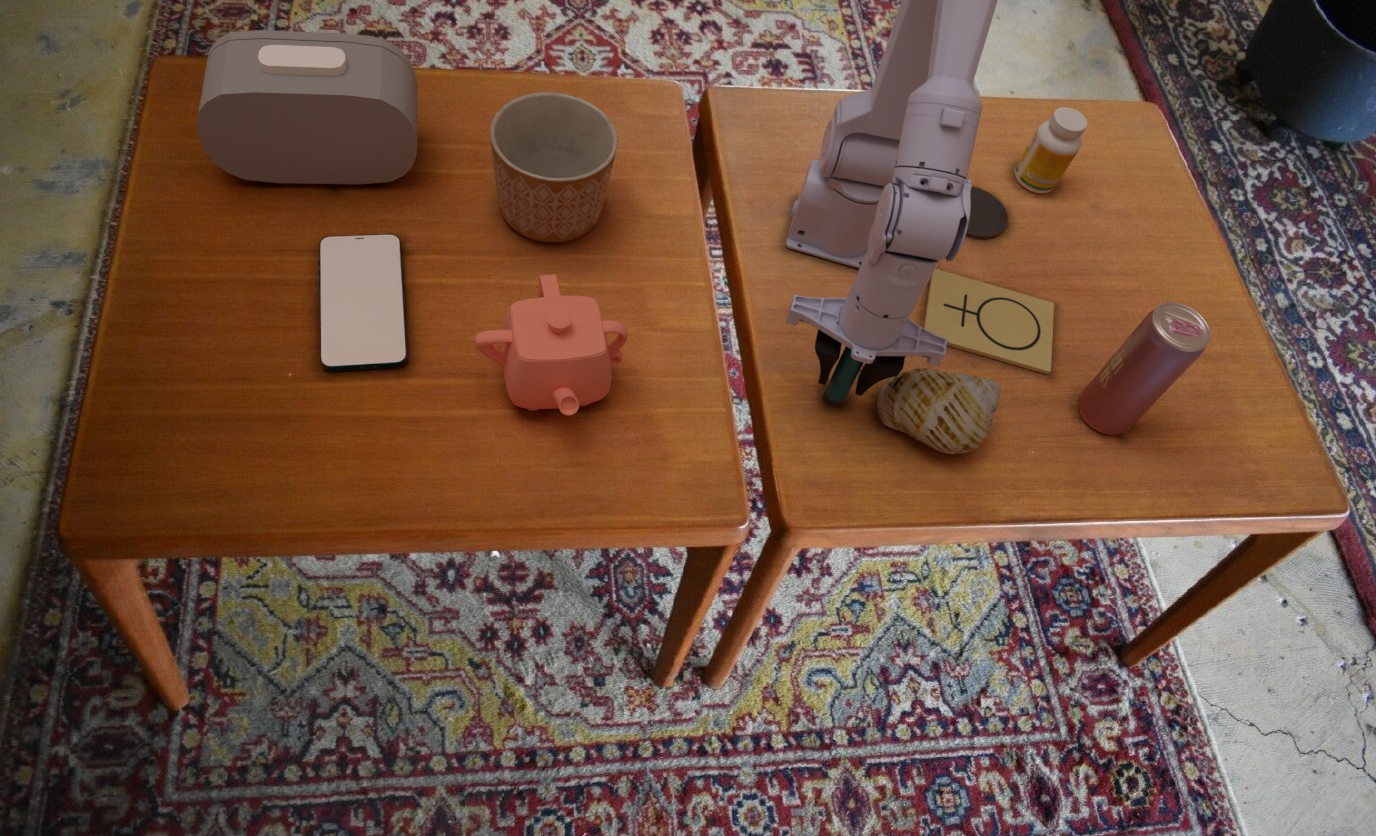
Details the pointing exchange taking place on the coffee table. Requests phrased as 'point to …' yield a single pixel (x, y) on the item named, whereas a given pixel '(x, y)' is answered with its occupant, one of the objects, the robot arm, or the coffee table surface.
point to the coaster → (986, 215)
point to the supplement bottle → (1051, 150)
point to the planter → (552, 164)
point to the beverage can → (1144, 367)
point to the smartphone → (361, 302)
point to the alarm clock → (309, 108)
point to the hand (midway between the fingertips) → (841, 381)
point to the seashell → (940, 408)
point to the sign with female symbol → (991, 321)
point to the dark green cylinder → (842, 379)
